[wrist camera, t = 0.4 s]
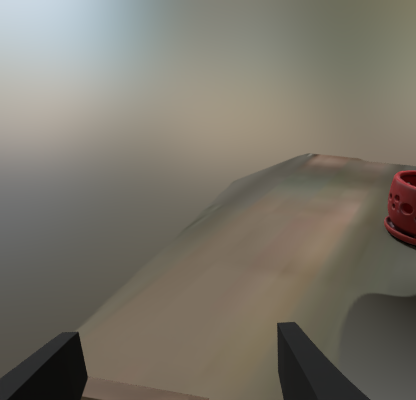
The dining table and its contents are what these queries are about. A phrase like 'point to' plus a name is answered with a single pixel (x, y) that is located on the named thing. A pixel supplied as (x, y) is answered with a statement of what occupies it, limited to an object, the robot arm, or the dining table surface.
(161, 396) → the corner fence
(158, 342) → the dining table surface
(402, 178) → the plant pot
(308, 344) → the robot arm
